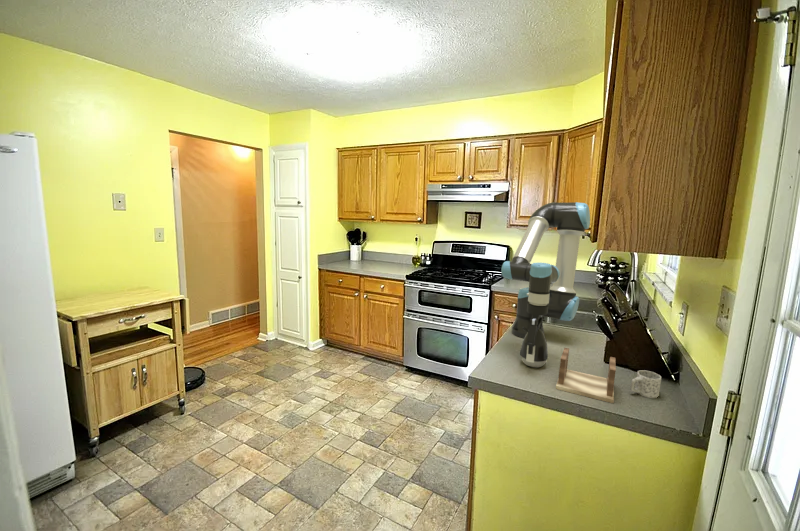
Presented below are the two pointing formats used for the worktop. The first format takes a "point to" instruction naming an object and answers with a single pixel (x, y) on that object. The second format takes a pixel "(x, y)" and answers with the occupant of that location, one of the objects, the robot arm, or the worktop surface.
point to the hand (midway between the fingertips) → (533, 355)
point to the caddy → (586, 381)
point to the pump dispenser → (540, 349)
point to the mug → (646, 384)
